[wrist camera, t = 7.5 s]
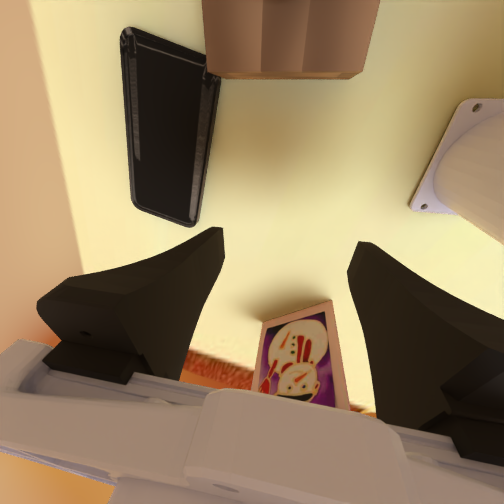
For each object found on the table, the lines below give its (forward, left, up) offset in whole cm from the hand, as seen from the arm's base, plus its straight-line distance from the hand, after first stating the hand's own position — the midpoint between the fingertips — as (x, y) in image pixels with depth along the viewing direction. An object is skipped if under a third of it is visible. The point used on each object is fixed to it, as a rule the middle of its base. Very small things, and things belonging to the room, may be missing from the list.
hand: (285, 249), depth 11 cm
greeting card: (-4, +20, -11) cm, 23 cm away
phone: (+12, -3, -11) cm, 17 cm away
